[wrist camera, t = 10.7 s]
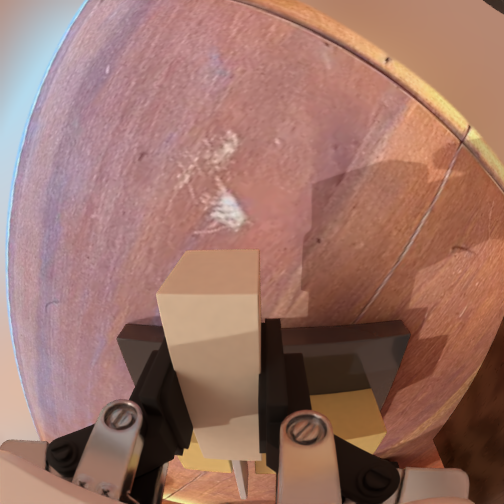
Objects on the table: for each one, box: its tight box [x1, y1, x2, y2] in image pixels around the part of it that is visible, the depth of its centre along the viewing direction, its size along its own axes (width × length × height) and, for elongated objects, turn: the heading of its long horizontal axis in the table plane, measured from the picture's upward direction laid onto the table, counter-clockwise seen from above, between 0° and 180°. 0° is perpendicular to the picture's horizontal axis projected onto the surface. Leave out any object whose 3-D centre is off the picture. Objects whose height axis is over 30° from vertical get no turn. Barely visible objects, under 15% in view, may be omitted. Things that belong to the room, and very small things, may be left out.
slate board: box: [117, 320, 411, 411], centre depth 16 cm, size 12×16×2 cm
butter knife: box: [156, 249, 262, 499], centre depth 10 cm, size 16×2×3 cm, turn 2°
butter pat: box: [177, 430, 233, 473], centre depth 14 cm, size 4×3×4 cm
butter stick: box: [255, 389, 387, 474], centre depth 13 cm, size 4×7×4 cm, turn 92°
